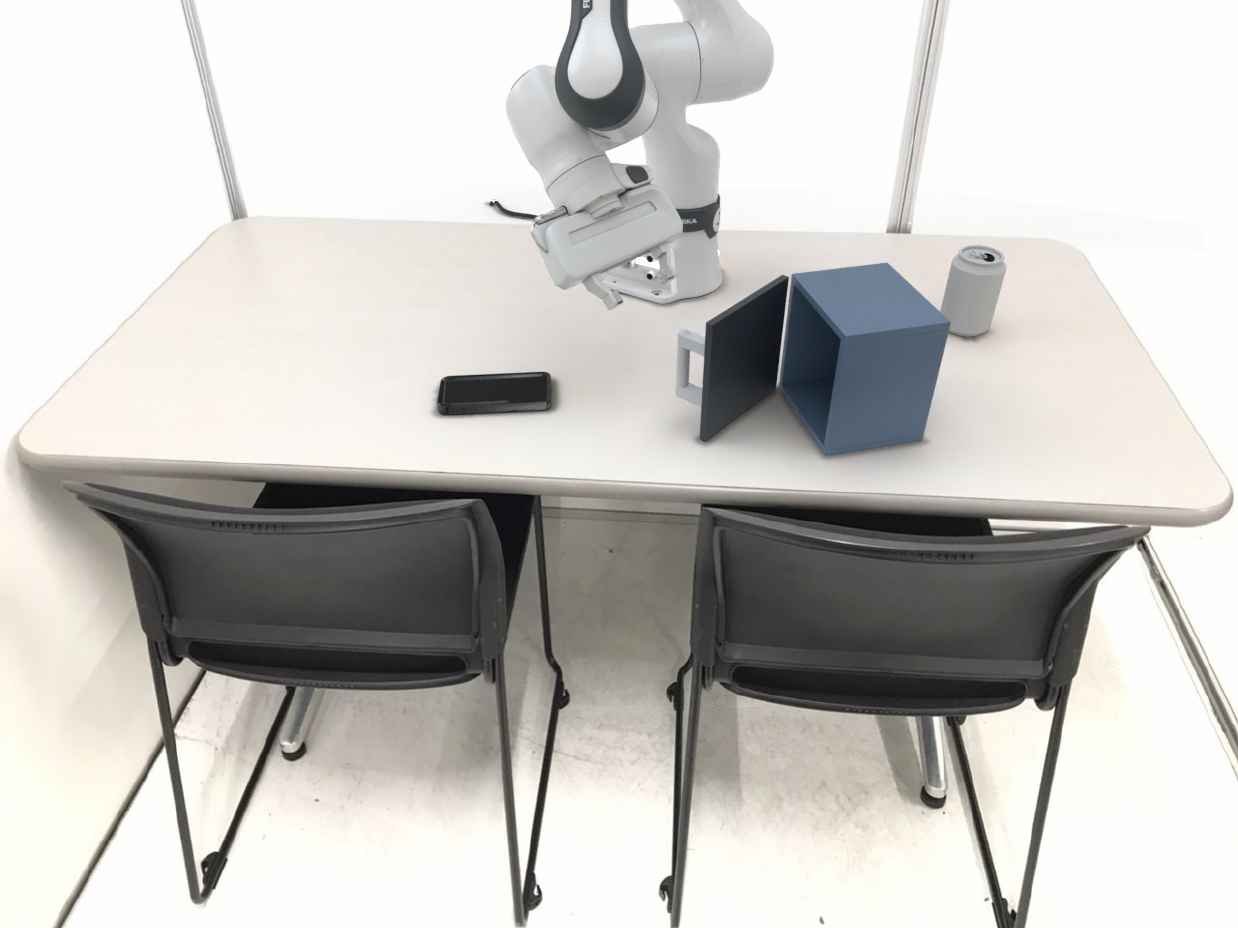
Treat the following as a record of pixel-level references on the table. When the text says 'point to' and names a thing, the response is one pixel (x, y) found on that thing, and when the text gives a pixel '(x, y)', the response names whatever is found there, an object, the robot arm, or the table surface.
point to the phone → (494, 393)
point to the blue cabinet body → (861, 357)
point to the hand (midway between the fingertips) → (643, 294)
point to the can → (973, 289)
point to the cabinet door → (734, 357)
